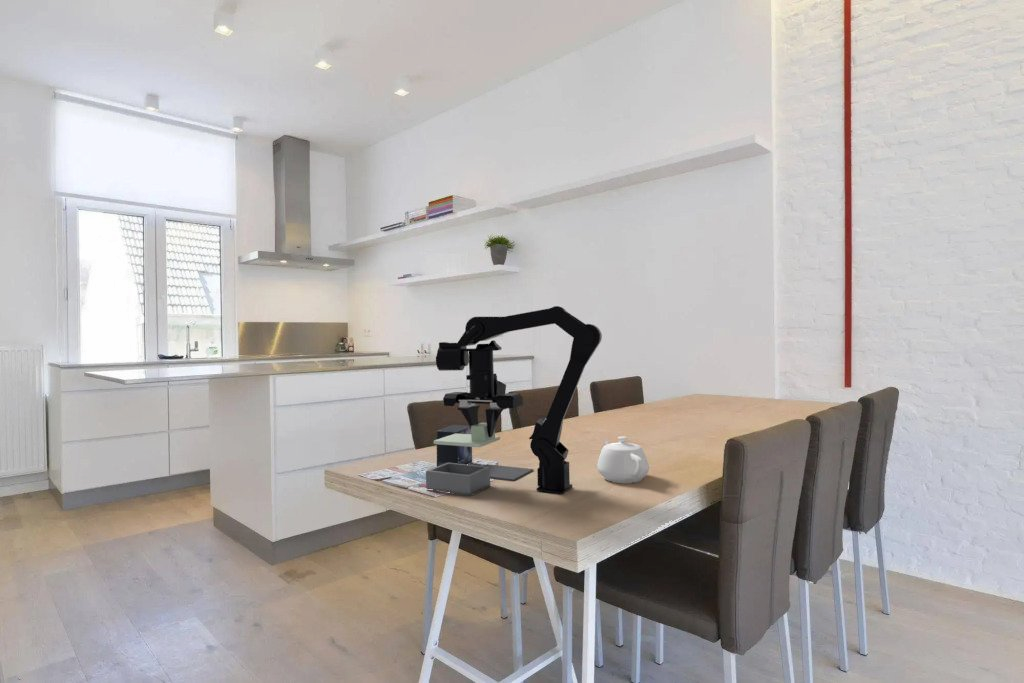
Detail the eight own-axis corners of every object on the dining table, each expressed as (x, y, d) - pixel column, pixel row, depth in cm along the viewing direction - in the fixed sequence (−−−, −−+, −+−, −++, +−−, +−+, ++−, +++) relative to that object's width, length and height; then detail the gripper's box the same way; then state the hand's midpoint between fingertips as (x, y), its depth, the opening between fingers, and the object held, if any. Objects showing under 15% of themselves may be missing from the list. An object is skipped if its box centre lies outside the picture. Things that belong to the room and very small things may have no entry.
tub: (490, 485, 135) (490, 467, 134) (470, 496, 127) (469, 476, 127) (448, 480, 140) (447, 462, 140) (426, 490, 132) (425, 470, 132)
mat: (533, 470, 148) (533, 469, 148) (513, 481, 138) (513, 479, 138) (487, 465, 155) (487, 464, 155) (465, 475, 145) (465, 473, 145)
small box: (458, 471, 149) (457, 431, 149) (435, 470, 151) (434, 430, 151) (473, 462, 159) (472, 424, 159) (452, 461, 161) (451, 424, 161)
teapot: (583, 470, 148) (582, 431, 147) (627, 466, 151) (626, 428, 150) (616, 491, 128) (615, 446, 128) (665, 486, 131) (665, 442, 131)
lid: (499, 441, 137) (499, 421, 137) (479, 449, 129) (479, 428, 129) (455, 438, 143) (455, 419, 143) (433, 445, 134) (433, 425, 134)
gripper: (531, 367, 136) (533, 432, 137) (465, 367, 145) (467, 428, 145) (510, 371, 127) (512, 441, 127) (440, 370, 135) (442, 436, 135)
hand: (483, 436), depth 134 cm, fingers closed on lid, 3 cm apart
